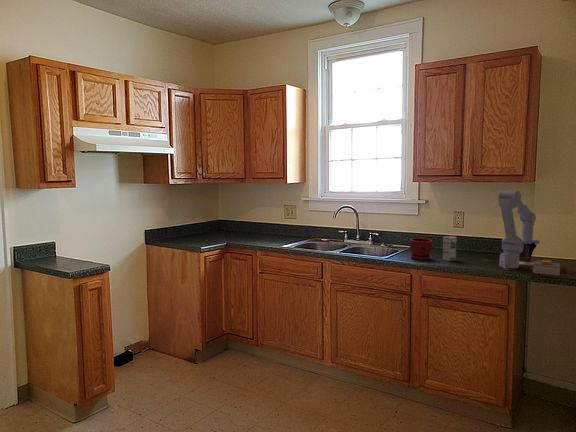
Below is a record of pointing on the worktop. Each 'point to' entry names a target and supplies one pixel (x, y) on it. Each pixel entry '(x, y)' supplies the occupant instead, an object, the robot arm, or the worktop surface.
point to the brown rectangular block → (526, 253)
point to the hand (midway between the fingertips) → (525, 256)
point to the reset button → (546, 262)
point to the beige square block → (526, 263)
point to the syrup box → (449, 248)
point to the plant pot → (420, 248)
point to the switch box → (546, 268)
